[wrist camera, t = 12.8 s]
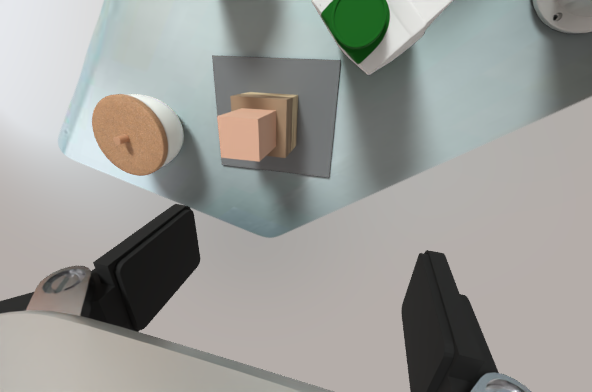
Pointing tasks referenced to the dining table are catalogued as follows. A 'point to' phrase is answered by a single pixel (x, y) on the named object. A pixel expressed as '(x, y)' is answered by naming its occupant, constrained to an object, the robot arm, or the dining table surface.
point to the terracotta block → (247, 134)
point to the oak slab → (294, 113)
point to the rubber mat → (295, 81)
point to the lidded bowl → (137, 132)
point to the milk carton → (377, 27)
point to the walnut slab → (282, 117)
